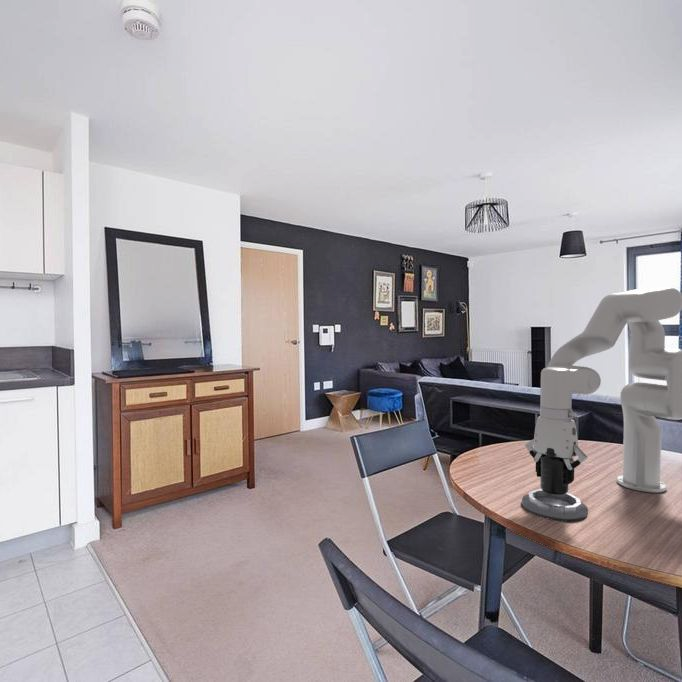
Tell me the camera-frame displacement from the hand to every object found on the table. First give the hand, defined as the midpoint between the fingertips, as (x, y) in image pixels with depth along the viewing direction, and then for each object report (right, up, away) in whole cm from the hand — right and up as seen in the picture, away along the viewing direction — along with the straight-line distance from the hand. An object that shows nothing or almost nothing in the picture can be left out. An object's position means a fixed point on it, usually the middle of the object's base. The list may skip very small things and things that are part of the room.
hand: (554, 478), depth 118 cm
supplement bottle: (0, -3, 0) cm, 3 cm away
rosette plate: (0, -8, 0) cm, 8 cm away
